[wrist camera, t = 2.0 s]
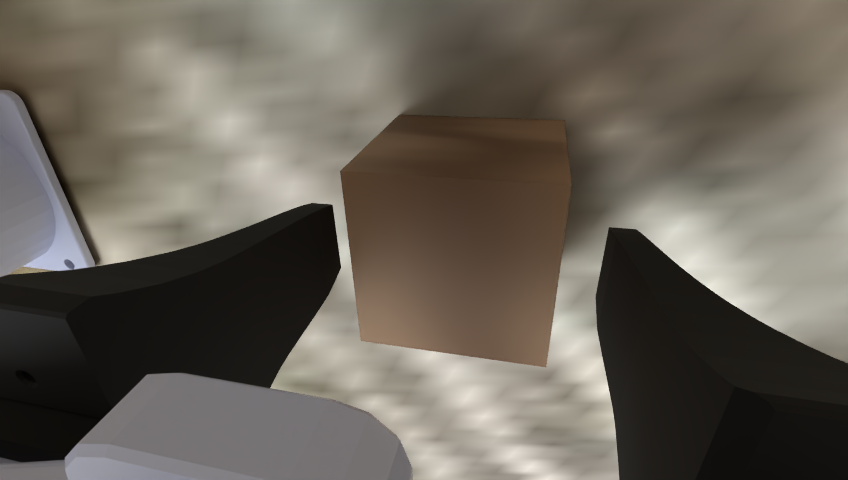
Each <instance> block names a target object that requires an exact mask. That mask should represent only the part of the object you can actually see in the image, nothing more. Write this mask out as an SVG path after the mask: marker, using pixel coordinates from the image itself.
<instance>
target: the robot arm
mask: <svg viewBox="0 0 848 480" xmlns="http://www.w3.org/2000/svg"><path fill="white" fill-rule="evenodd" d="M23 266H24V267H31V268H39V269H47V270H55V271H51V272H39V273H27V274H12V275H8V274H10V273H12V272H14V271H15V270H17V269H19V268H21V267H23ZM340 269H341V264H340V257H339V250H338V242H337V235H336V227H335V220H334V213H333V205H329V204H317V203H311V204H306V205H303V206H300V207H297V208H294V209H291V210H289V211H286V212H283V213H281V214H278V215H276V216H273V217H271V218H268V219H266V220H263V221H261V222H259V223H256V224H254V225H251V226H249V227H246V228H243V229H240V230H238V231H235V232H232V233H230V234H227V235H224V236H222V237H219V238H216V239H213V240H210V241H207V242H204V243H201V244H198V245H194V246H191V247H187V248H183V249H180V250H176V251H172V252H169V253H164V254H159V255H155V256H150V257H146V258H141V259H136V260H132V261H127V262H121V263H115V264H109V265H103V266H95V262H94V260H93V257H92V255H91V253H90V251H89V248H88V246H87V244H86V242H85V239H84V237H83V235H82V233H81V230H80V228H79V226H78V224H77V221H76V219H75V217H74V215H73V212H72V210H71V208H70V206H69V203H68V201H67V199H66V197H65V194H64V192H63V190H62V188H61V185H60V183H59V181H58V179H57V176H56V174H55V172H54V170H53V167H52V165H51V163H50V161H49V158H48V156H47V154H46V152H45V149H44V147H43V145H42V143H41V140H40V138H39V136H38V134H37V131H36V129H35V127H34V125H33V122H32V120H31V118H30V115H29V113H28V111H27V109H26V106H25V104H24V102H23V101H22V99H21V98H20V97H19V96H18V95H17V94H15V93H14V92H12V91H9V90H0V480H413V473H412V466H411V464H410V462H409V460H408V457H407V455H406V453H405V450H404V448H403V446H402V444H401V441H400V440H399V438H398V437H397V436H396V435H395V434H394V433H393V432H392V431H391V430H389V429H388V428H387V427H386V426H385V425H383V424H382V423H381V422H380V421H379V420H377V419H376V418H375V417H374V416H372V415H371V414H370V413H369V412H366V411H363V410H361V409H358V408H355V407H352V406H350V405H347V404H344V403H342V402H339V401H336V400H333V399H327V398H321V397H316V396H310V395H305V394H299V393H293V392H288V391H282V390H276V389H271V388H270V387H271V385H272V383H273V381H274V379H275V377H276V375H277V373H278V371H279V370H280V368H281V366H282V364H283V363H284V361H285V360H286V358H287V356H288V355H289V353H290V352H291V350H292V349H293V347H294V346H295V344H296V343H297V341H298V340H299V338H300V337H301V335H302V334H303V333H304V331H305V330H306V328H307V327H308V325H309V324H310V322H311V321H312V319H313V318H314V316H315V315H316V313H317V312H318V310H319V309H320V307H321V306H322V304H323V303H324V301H325V300H326V298H327V296H328V295H329V293H330V291H331V289H332V286H333V284H334V282H335V280H336V278H337V275H338V273H339V271H340ZM596 314H597V330H598V336H599V341H600V346H601V351H602V356H603V361H604V366H605V371H606V376H607V381H608V386H609V391H610V396H611V401H612V406H613V413H614V419H615V428H616V440H617V452H618V465H619V479H620V480H848V363H845V362H843V361H840V360H838V359H836V358H833V357H831V356H829V355H826V354H824V353H822V352H820V351H818V350H815V349H813V348H811V347H809V346H807V345H805V344H803V343H801V342H799V341H797V340H795V339H793V338H791V337H789V336H787V335H785V334H783V333H781V332H779V331H777V330H775V329H773V328H771V327H769V326H768V325H766V324H764V323H762V322H760V321H758V320H757V319H755V318H753V317H752V316H750V315H748V314H747V313H745V312H743V311H742V310H740V309H739V308H737V307H735V306H734V305H732V304H730V303H729V302H727V301H726V300H724V299H723V298H721V297H720V296H718V295H717V294H715V293H714V292H713V291H711V290H710V289H708V288H707V287H706V286H704V285H703V284H702V283H700V282H699V281H698V280H696V279H695V278H694V277H692V276H691V275H690V274H689V273H687V272H686V271H685V270H684V269H682V268H681V267H680V266H679V265H677V264H676V263H675V262H674V261H673V260H671V259H670V258H669V257H668V256H667V255H666V254H664V253H663V252H662V251H661V250H660V249H659V248H658V247H657V246H655V245H654V244H653V243H652V242H651V241H650V240H649V239H647V238H646V237H645V236H644V235H643V234H641V233H640V232H639V231H638V230H636V229H623V228H611V227H609V230H608V236H607V241H606V246H605V251H604V256H603V261H602V267H601V272H600V277H599V282H598V287H597V292H596Z"/></svg>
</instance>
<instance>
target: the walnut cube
mask: <svg viewBox="0 0 848 480" xmlns="http://www.w3.org/2000/svg"><path fill="white" fill-rule="evenodd" d="M340 173H341V181H342V189H343V198H344V206H345V214H346V222H347V231H348V239H349V247H350V255H351V263H352V272H353V280H354V288H355V296H356V305H357V313H358V321H359V329H360V338H361V341H366V342H373V343H380V344H387V345H394V346H401V347H408V348H415V349H422V350H429V351H436V352H443V353H450V354H457V355H464V356H471V357H478V358H485V359H492V360H499V361H506V362H513V363H520V364H527V365H534V366H541V367H546V364H547V357H548V350H549V343H550V336H551V329H552V322H553V315H554V308H555V301H556V294H557V287H558V280H559V273H560V266H561V259H562V252H563V245H564V237H565V230H566V223H567V216H568V209H569V202H570V195H571V188H572V182H571V174H570V165H569V156H568V148H567V139H566V130H565V121H564V120H538V119H509V118H480V117H451V116H422V115H399V116H398V117H397V118H395V119H394V120H393V121H392V122H391V123H390V124H389V125H388V126H387V127H386V128H385V129H384V130H383V131H382V132H381V133H380V134H379V135H378V136H377V137H376V138H374V139H373V140H372V141H371V142H370V143H369V144H368V145H367V146H366V147H365V148H364V149H363V150H362V151H361V152H360V153H359V154H358V155H357V156H356V157H355V158H353V159H352V160H351V161H350V162H349V163H348V164H347V165H346V166H345V167H344V168H343V169H342V170H341V171H340Z"/></svg>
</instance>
